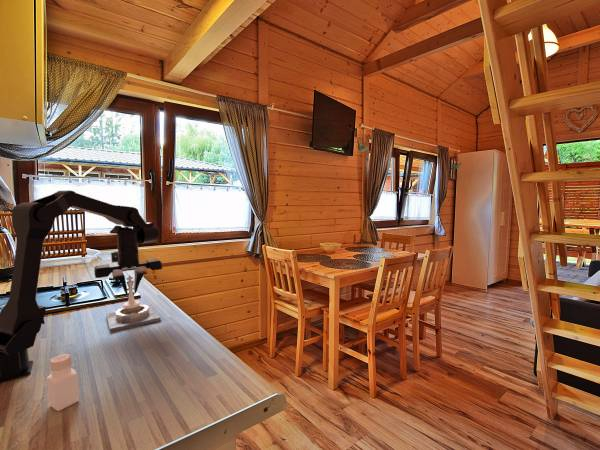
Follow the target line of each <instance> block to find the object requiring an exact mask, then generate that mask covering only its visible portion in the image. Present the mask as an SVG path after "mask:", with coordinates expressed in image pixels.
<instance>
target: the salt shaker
mask: <svg viewBox="0 0 600 450" xmlns="http://www.w3.org/2000/svg"><path fill="white" fill-rule="evenodd" d="M71 359H72V358H71V354H68V353H65V354H59V355H56V356H54V357H52V358H51V359H50V360H49V365H50V372H51V374H49V375H48V376H47V377H46V387H47V395H48V397H47V398H48V404H49V406H50V407H52V408H53V410H55V411H57V412H60V411H62V410H64V409H66V408H68V407H70V406H72V405H74V404H76V403H78V402H79V400H80V390H79V381H78V380H79V379H78V372H77V371H76V369H75V368H72V360H71Z"/></svg>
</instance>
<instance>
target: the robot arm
mask: <svg viewBox="0 0 600 450" xmlns="http://www.w3.org/2000/svg"><path fill="white" fill-rule="evenodd" d="M70 208H71V209H75V210H79V211H82V212H86V213H89V214H93V215H97V216H100V217H103V218H105V219H106V220H107V221H109V222H111V223H113V224H116V225H115V226H114V227H113V228H112V229H111V230H110V231H109V234H112V235H115V234H116V239H117V242H116V243H117V244H116V245H117V251H115V252H114V251H113V252H111V253H110V257H111V258H110V259H111V263H114V264H115V263H117V265H115V266H110V265H109V264H101V265H99V264H98V265H95V266H94V268H93V272H94V278H95V279H101V278H106V277H109V276H110V275H112V277H113V278H112V279H118V281H119V283H120V284H121V286H122V289H123V291H124V294H125V295H128V290H127V289H128V285H127V281H126V277H125V274H124V272H127V271H134V278H133V280H134V283H133V288H134V290H133V291H134V292H133V294H136V293H137V292H138V289H139V286H140V283H141V281H142V278H143V277H144V275H147V273H148V271H146V270H147V269H150V270H151V271H158V270H162V269H163V263H162V261H161V260H160V259H158V258H151V259H145V260H146V261H145V262H140V258H139V257H140V255H139V245H143V244H147V243H152V242H153V243H154V242H156V241H157V240H158V239H159V237H160V232H159V230H158V228H157V226H155V223H154V221H153V222H146V221H145V219H144V218H143V217H142V216H141V214H140V212H139V209H138V208H136V207H134V206H126V205H115V204H112V203H108V202H105V201H102V200H99V199H96V198H92V197H90V196H86V195H84V194H81V193H77V192H76V191H74V190H69V189H68V190H57V191H56V192H54V193H52V194H50V195H47V196H44V197H40V198H38V199H35V200H33V201H30V202H20V203H18V204H17V205H15V206H13V208H12V210H11V224H12V225H11V226H12V229H13V231H14V234H15V236H16V239H17V240H16V247H15V253H14V262H13V268H12V275H11V276H12V277H11V284H10V291H9V298H8V301H7V302H6V303H5V305H4V306H3V308H1V310H0V383H3V382H6V381H11V380H14V379H18V378H21V377H25V376H29V375H30V374H31V372H32V368H33V366H34V365H33V364H34V360H30V359H29V348H30V349H31V348H32V347H34V345H35V342H36V340H37V339H36V338H37V334H38V333H40V331H41V328H42V327H43V326H42V325H45V314H46V311H47V309H46V308H47V307H46V306H43V305H39V304H38V301H37V292H38V286H39V285H38V284H39V279H40V278H39V276H40V269H41V262H42V257H43V255H42V253H43V247H44V241H45V239H46V238H47V236H48V235H49V233H50V232H51V231H52V229H53V226H54V223H55V220H56V218H57V217H60V216H61V215H63V214H65V212H67V211H68V210H69V209H70ZM121 225H122V226H121Z"/></svg>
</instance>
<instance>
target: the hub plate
mask: <svg viewBox="0 0 600 450" xmlns="http://www.w3.org/2000/svg"><path fill="white" fill-rule="evenodd" d="M105 315H106V321H107V325H108V329H109V330H108V331H109V333H114V332H115V333H116V332H119V331H123V330H127V329H133V328H135V327H136V328H137V327H141V326H144V325H148V324H149V325H150V324H153V323H158V322H161V321H162V320H161V316H160V315H159V313H158V311H157V310H156V309H155V307H154V305H153V304H149V305H147V304H141V303H140V305H139V306H138V307H135V308H123V307H120V308H118V309H117V310H116V311H114V312H113V311H112V312H110V313H109V312H108V313H106V314H105Z"/></svg>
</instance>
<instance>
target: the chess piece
mask: <svg viewBox="0 0 600 450" xmlns="http://www.w3.org/2000/svg"><path fill="white" fill-rule="evenodd" d="M132 279H133V280H134V277H133V276H132V275H128V277H127V278H126V280H127V281H126V286H127V291H128V300H127V302H125V303H123V305H122V308H135V307H138V306H139V305H140V304H141V302H140V301H138V300H136V299H135V297H134V292H133V291H134V281H133V280H132Z"/></svg>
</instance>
